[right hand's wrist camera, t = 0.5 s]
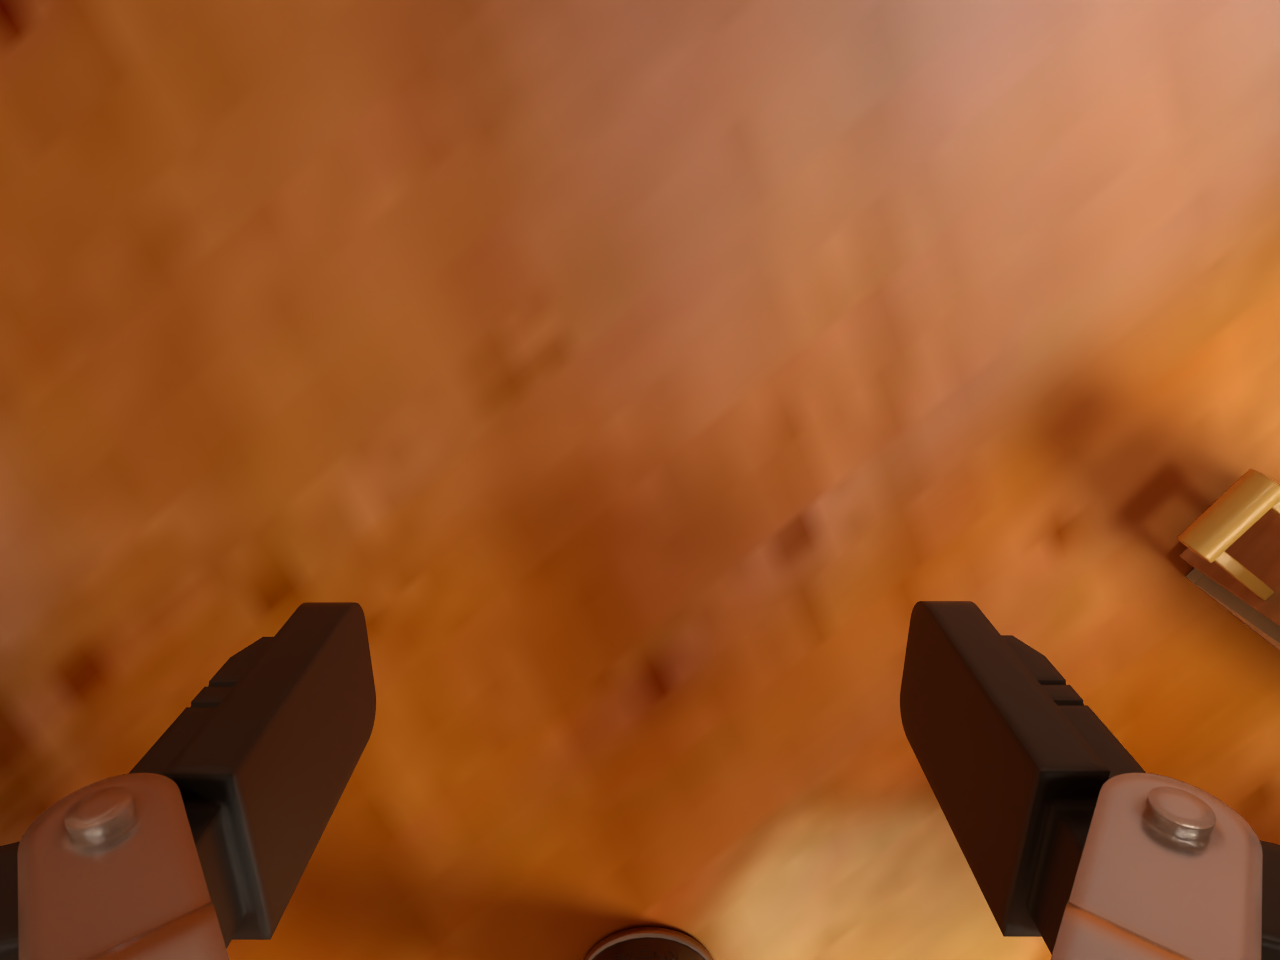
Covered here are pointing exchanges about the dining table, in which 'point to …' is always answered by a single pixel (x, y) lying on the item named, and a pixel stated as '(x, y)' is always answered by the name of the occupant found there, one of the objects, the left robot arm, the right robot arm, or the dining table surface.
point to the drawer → (1241, 543)
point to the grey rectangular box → (1238, 608)
